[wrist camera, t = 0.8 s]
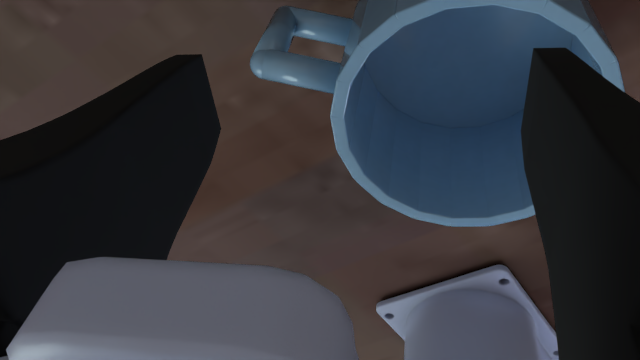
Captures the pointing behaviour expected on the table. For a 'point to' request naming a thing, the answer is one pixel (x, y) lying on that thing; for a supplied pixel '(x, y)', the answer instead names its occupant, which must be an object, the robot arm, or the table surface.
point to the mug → (434, 95)
